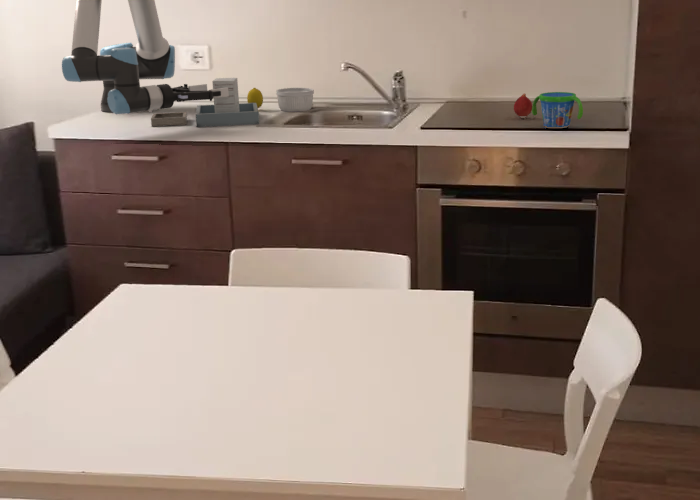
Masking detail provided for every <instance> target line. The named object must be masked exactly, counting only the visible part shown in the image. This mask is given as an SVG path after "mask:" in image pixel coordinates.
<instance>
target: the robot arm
mask: <svg viewBox="0 0 700 500" xmlns="http://www.w3.org/2000/svg"><path fill="white" fill-rule="evenodd" d="M75 1H76V2H75V12H74V20H73V21H74V23H73V34H72V41H71V43H72V45H71V54H70V55H68V56H64V57H63V58H62V60H61V71H62V74H63V78H64V80H66V81H67V82H72V83H73V82H75V83H76V82H77V83H82V82H99V81H100V82H101V81H102V84H103V90H102V96H101V100H100V111H102V112H105V113H113V114H114V115H124V114H127V115H128V114H133V113H140V112H147V111H148V112H149V113H153V111H155V110H163V109H165V110H166V109H171V108H172V107H173V106H174V105H175V104H174V103H175V102H178V103H181V102H183V103H184V102H188V101H189V102H190V101H207V100H209V101H210V102H212V101H213V100H214V98H219V97H227V96H229V91H228V88H219V89H213V88H212V89H209V90H208V84H207V83H205V84H204V83H203V84H202V83H201V84H193V85H188V84H187V83H183V85H180V86H179V85H178V86H176V87H175V86H174V87H172V86H171V85H170V84H168V83H162V84H151V85H143V86H141V84H140V80H164V79H171V78H173V77H174V76H175V67H176V49H175V48H176V47H175V46H174V45H172V44H169V41H168V40H167V39H166V38H165V37H163V33H162V28H161V23H160V18H159V14H158V9H157V6H156V1H155V0H127V3H128V7H129V10H130V13H131V18H132V23H133V26H134V29H135V34H136V37H137V41H138V42H137V43H136V46H134V44H133V43H132V42H123V43H118V44H113V45H107V46H104V47H102V48H101V49H100V51H99V55H98V50H99V49H98V48H99V37H100V24H101V15H102V14H101V13H102V11H101V10H102V0H75Z"/></svg>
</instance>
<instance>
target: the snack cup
mask: <svg viewBox="0 0 700 500" xmlns="http://www.w3.org/2000/svg"><path fill="white" fill-rule="evenodd" d="M539 101H540V106H541V108H540V109H541V117H542V123H543V127H544V126H547V127H564V126H568V125H571V121H572V116H573V110H574V103H575V102H576V103H577V107H578V111H577V117H576V118H577V120H580V119H582V117H583V115H584V108H583V104H582V100H581V99H580V97H578V96H577V95H576V93H574V92H567V91H565V92H564V91H554V92H553V91H552V92H549V91H548V92H543V93H542V92H541V93H540V94H539V95H538V96H536V97H535V98H534V100H533V103H532V111H531V113H532V115H533V116H536V115H538V108H537V103H538V102H539Z"/></svg>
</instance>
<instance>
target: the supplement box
mask: <svg viewBox="0 0 700 500" xmlns="http://www.w3.org/2000/svg"><path fill="white" fill-rule="evenodd" d="M238 82H239V81H238V77H216V78H214V79H213V80H212V89H219V88H228V91H229V96H227V97H219V98H213V105H214V109H215V113H228V112H240V110H239V103H240V100H239V99H240V98H239V97H240V96H239V85H238Z"/></svg>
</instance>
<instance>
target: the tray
mask: <svg viewBox="0 0 700 500" xmlns="http://www.w3.org/2000/svg"><path fill="white" fill-rule="evenodd" d="M239 110H240V112H228V113H215V109H214V104H201V105H199V104H198V105H197V106H196V110H195V123H196V125H195V126H196V128H204V127H205V126H209V127H225V126H228V127H229V126H242V125H243V126H244V125H245V126H247V125H260V114H259V112H260V111H259V108H257V104H256V103H248V102H246V103H245V102H243V103H240V102H239ZM205 128H206V127H205Z"/></svg>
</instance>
